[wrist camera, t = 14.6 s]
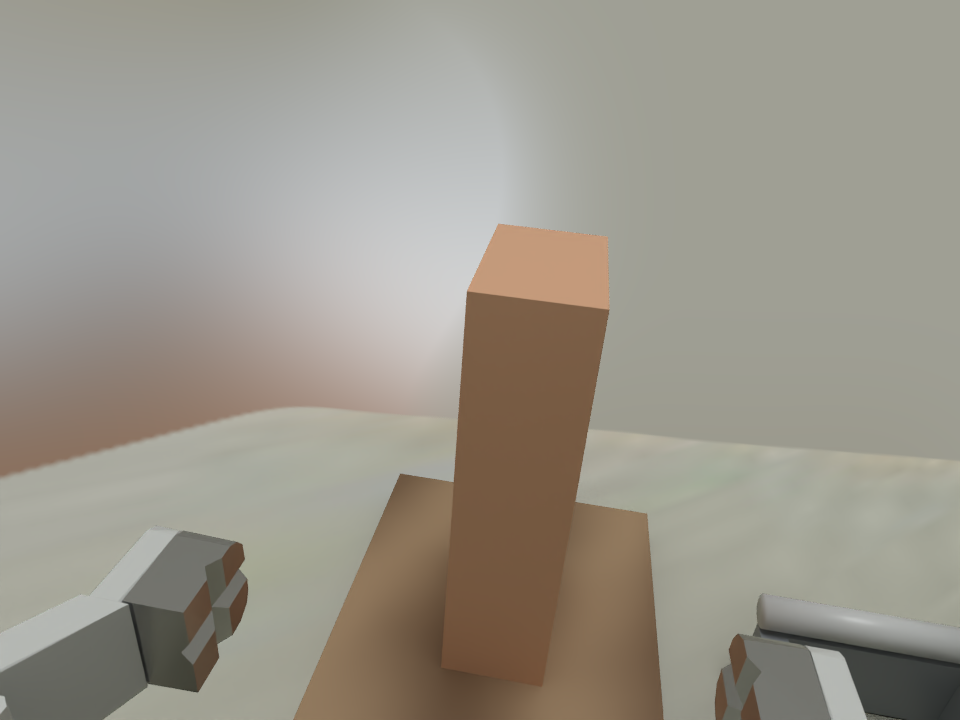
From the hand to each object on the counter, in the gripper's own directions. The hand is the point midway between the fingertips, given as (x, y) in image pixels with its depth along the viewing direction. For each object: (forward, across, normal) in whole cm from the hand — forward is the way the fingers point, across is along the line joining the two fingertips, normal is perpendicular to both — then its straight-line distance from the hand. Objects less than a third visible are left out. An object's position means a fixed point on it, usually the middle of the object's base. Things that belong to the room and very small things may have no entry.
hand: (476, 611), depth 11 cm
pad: (+8, 0, +10) cm, 12 cm away
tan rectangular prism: (+8, 0, +9) cm, 12 cm away
